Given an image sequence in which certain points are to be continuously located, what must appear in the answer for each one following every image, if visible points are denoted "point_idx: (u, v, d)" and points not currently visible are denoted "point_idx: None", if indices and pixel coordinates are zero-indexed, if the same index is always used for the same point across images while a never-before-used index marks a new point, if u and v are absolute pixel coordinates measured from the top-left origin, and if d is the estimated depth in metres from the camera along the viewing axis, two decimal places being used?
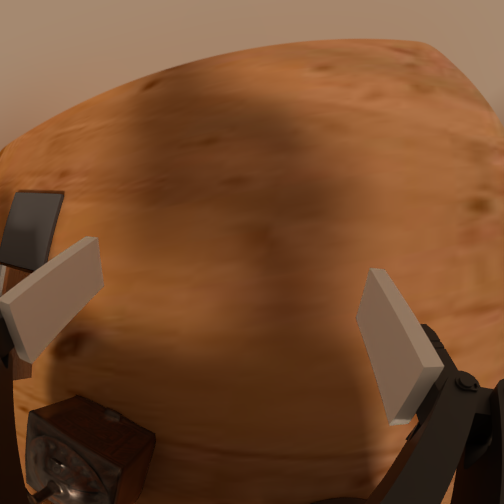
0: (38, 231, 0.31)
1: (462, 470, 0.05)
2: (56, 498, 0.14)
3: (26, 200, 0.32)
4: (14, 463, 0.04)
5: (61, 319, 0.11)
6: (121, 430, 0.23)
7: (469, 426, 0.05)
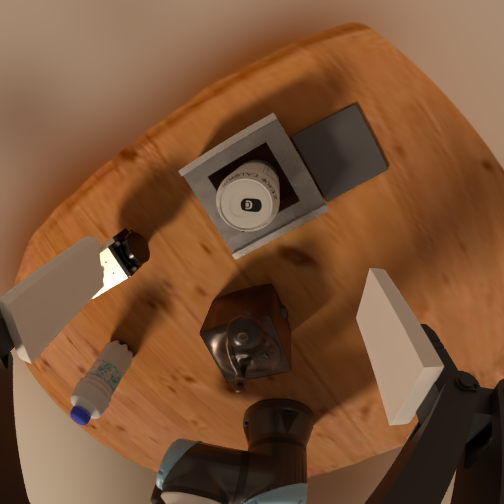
0: (350, 169, 0.38)
1: (462, 470, 0.05)
2: None
3: (360, 129, 0.36)
4: (14, 463, 0.04)
5: (61, 319, 0.11)
6: (286, 329, 0.46)
7: (469, 426, 0.05)
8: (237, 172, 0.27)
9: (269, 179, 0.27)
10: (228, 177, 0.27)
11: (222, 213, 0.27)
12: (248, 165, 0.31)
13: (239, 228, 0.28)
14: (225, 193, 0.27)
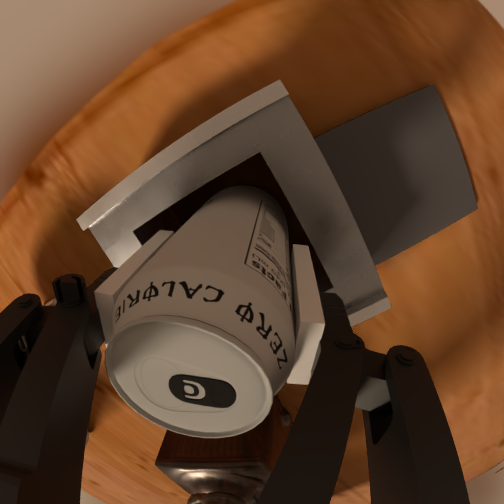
0: (420, 207, 0.19)
1: (372, 445, 0.07)
2: None
3: (441, 132, 0.17)
4: (75, 472, 0.05)
5: None
6: None
7: (357, 382, 0.07)
8: (155, 276, 0.08)
9: (264, 301, 0.08)
10: (130, 289, 0.08)
11: (124, 394, 0.08)
12: (210, 221, 0.12)
13: (176, 429, 0.08)
14: (118, 354, 0.07)
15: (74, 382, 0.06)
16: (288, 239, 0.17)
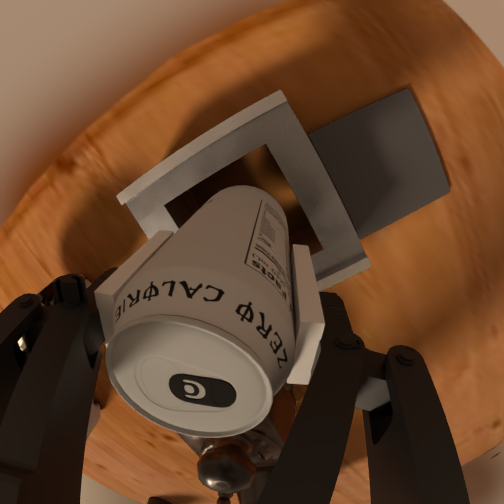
0: (398, 190, 0.23)
1: (371, 445, 0.07)
2: None
3: (415, 127, 0.21)
4: (75, 472, 0.05)
5: None
6: (289, 406, 0.31)
7: (357, 382, 0.07)
8: (155, 275, 0.08)
9: (265, 301, 0.08)
10: (130, 289, 0.08)
11: (124, 394, 0.08)
12: (210, 220, 0.12)
13: (176, 429, 0.08)
14: (119, 353, 0.07)
15: (74, 382, 0.06)
16: (288, 239, 0.17)
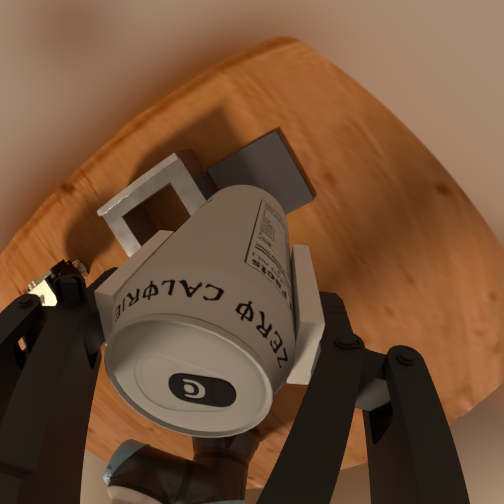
0: None
1: (372, 445, 0.07)
2: None
3: (280, 157, 0.36)
4: (75, 473, 0.05)
5: None
6: None
7: (357, 382, 0.07)
8: (155, 274, 0.08)
9: (265, 300, 0.08)
10: (130, 288, 0.08)
11: (123, 394, 0.08)
12: (210, 220, 0.12)
13: (176, 429, 0.08)
14: (118, 353, 0.07)
15: (74, 382, 0.06)
16: (288, 238, 0.17)
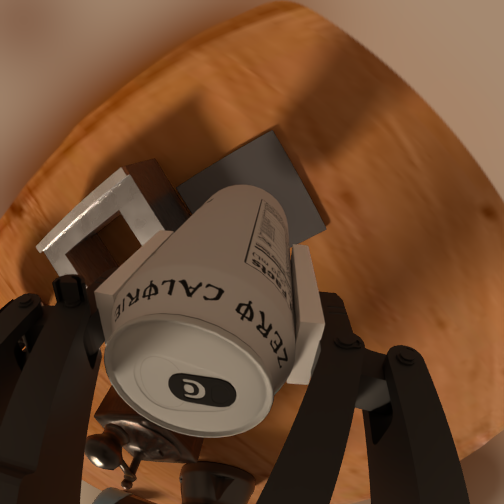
0: None
1: (372, 445, 0.07)
2: (130, 451, 0.28)
3: (279, 169, 0.25)
4: (75, 473, 0.05)
5: None
6: None
7: (357, 382, 0.07)
8: (155, 274, 0.08)
9: (265, 300, 0.08)
10: (130, 288, 0.08)
11: (123, 394, 0.08)
12: (210, 219, 0.12)
13: (176, 429, 0.08)
14: (118, 353, 0.07)
15: (74, 382, 0.06)
16: (288, 238, 0.17)
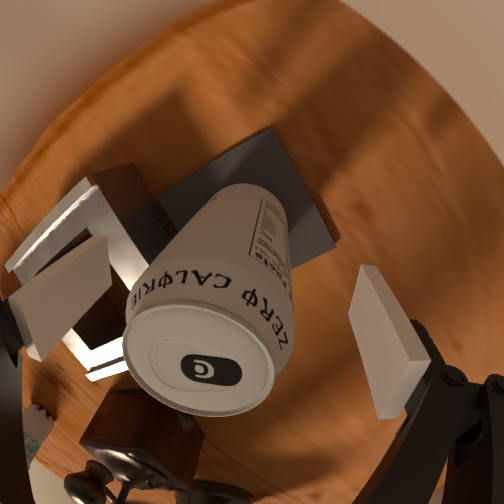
0: None
1: (452, 466, 0.05)
2: (118, 479, 0.24)
3: (280, 175, 0.21)
4: (21, 463, 0.04)
5: (71, 317, 0.11)
6: (191, 440, 0.31)
7: (457, 420, 0.05)
8: (169, 266, 0.09)
9: (267, 288, 0.09)
10: (145, 278, 0.09)
11: (137, 377, 0.09)
12: (216, 217, 0.13)
13: (186, 409, 0.09)
14: (135, 337, 0.08)
15: (2, 378, 0.06)
16: (287, 234, 0.18)
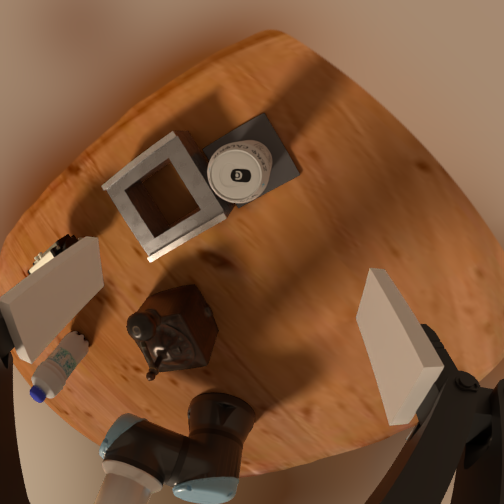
0: None
1: (462, 470, 0.05)
2: (153, 355, 0.42)
3: (268, 137, 0.39)
4: (14, 463, 0.04)
5: (61, 319, 0.11)
6: (209, 327, 0.49)
7: (469, 426, 0.05)
8: (228, 144, 0.27)
9: (259, 151, 0.27)
10: (219, 149, 0.27)
11: (212, 184, 0.27)
12: (240, 141, 0.31)
13: (229, 198, 0.28)
14: (216, 164, 0.27)
15: None
16: (271, 160, 0.36)
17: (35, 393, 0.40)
